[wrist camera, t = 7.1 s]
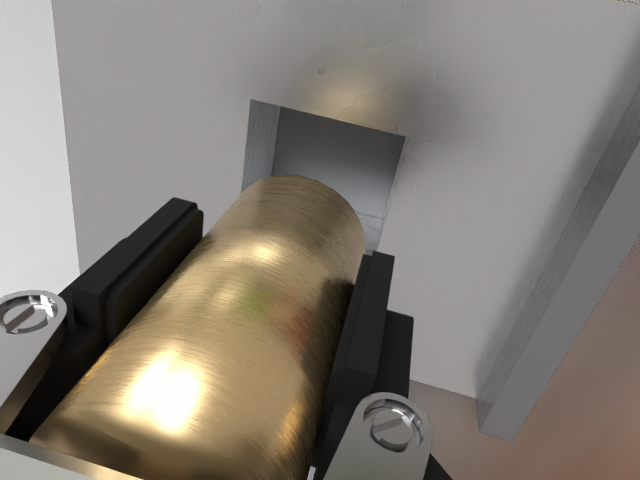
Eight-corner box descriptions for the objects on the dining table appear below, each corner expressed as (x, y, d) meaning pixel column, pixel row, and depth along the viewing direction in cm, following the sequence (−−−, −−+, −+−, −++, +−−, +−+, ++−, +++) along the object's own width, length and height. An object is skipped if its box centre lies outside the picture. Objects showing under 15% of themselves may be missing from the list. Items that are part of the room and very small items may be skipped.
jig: (120, -105, 17) (-7, -130, 12) (662, 9, 15) (763, 33, 10) (131, 238, 24) (56, 308, 19) (496, 339, 22) (511, 441, 18)
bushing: (234, 158, 13) (5, 374, 6) (380, 196, 13) (311, 470, 6) (223, 279, 15) (42, 539, 8) (348, 314, 15) (269, 617, 8)
